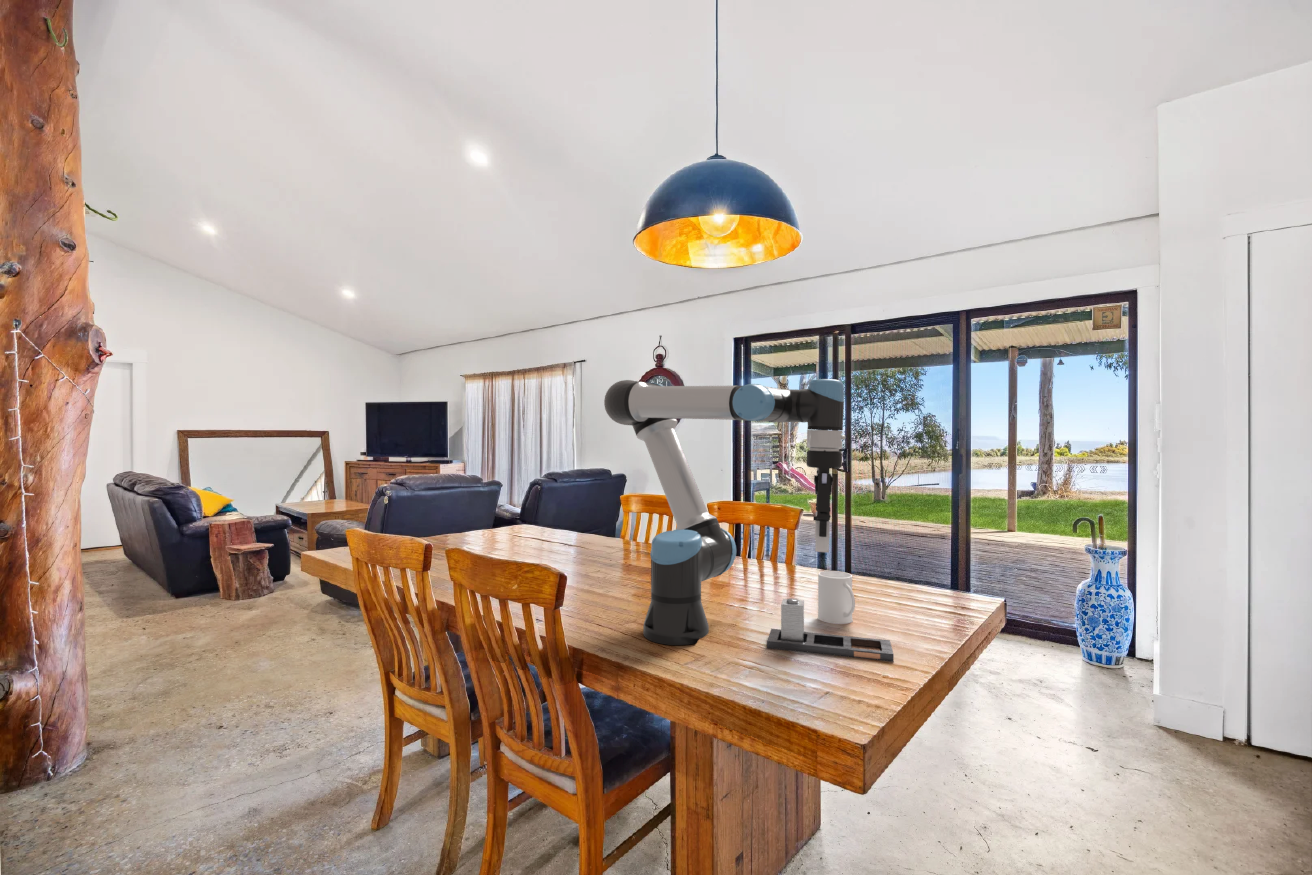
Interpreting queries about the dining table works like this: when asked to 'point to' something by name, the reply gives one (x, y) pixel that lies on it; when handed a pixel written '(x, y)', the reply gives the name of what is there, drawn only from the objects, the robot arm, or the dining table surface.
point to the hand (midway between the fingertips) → (821, 545)
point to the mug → (835, 597)
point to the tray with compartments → (835, 645)
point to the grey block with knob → (792, 620)
